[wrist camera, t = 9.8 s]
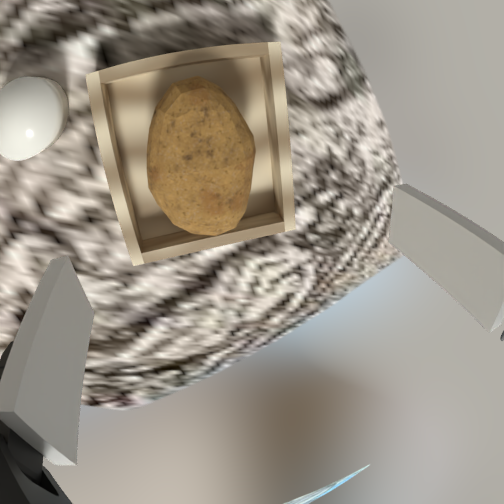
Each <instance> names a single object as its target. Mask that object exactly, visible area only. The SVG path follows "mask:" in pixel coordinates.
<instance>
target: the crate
mask: <svg viewBox="0 0 504 504" xmlns="http://www.w3.org/2000/svg"><path fill="white" fill-rule="evenodd" d="M195 76H200V77H202V78H204V79H206V80H208V81H210V82H212V83H214V84H216V85H218V86H219V87H220V88H221V89H222V90H223V91H224V92H225V93H226V94H227V95H228V96H229V97H230V98H231V99H232V101H233V102H234V103H235V104H236V106H237V108H238V109H239V111H240V113H241V114H242V116H243V118H244V120H245V121H246V123H247V125H248V127H249V128H250V130H251V132H252V134H253V136H254V142H255V147H256V154H255V161H254V167H253V176H252V185H251V191H250V195H249V199H248V203H247V208H246V211H245V213H244V215H243V216H242V218H241V219H240V221H239V223H238V224H237V226H236V227H235V228H234V229H231V230H229V231H226V232H224V233H222V234H219V235H217V236H213V235H201V234H193V233H190V232H188V231H186V230H184V229H182V228H180V227H178V226H176V225H174V224H173V223H172V222H171V220H170V219H169V218H168V216H167V215H166V214H165V213H164V212H163V211H162V209H161V208H160V207H159V206H158V205H157V203H156V201H155V199H154V197H153V195H152V194H151V192H150V190H149V188H148V179H147V143H148V134H149V127H150V124H151V120H152V117H153V114H154V110H155V107H156V106H157V104H158V103H159V101H160V100H161V98H162V97H163V96H164V94H165V93H166V91H167V90H168V89H169V87H170V86H171V84H172V83H174V82H178V81H181V80H184V79H188V78H191V77H195ZM86 81H87V87H88V93H89V99H90V105H91V110H92V115H93V121H94V126H95V130H96V135H97V140H98V144H99V149H100V153H101V157H102V161H103V165H104V169H105V173H106V177H107V181H108V185H109V189H110V192H111V196H112V200H113V203H114V207H115V210H116V213H117V217H118V220H119V223H120V227H121V230H122V233H123V236H124V239H125V243H126V246H127V249H128V252H129V255H130V258H131V261H132V263H133V266H136V265H140V264H145V263H149V262H153V261H157V260H162V259H166V258H170V257H175V256H179V255H183V254H188V253H192V252H197V251H201V250H205V249H210V248H214V247H219V246H223V245H227V244H232V243H236V242H241V241H245V240H250V239H254V238H259V237H263V236H268V235H272V234H277V233H281V232H286V231H291V230H295V209H294V192H293V176H292V161H291V147H290V135H289V123H288V111H287V100H286V90H285V80H284V70H283V61H282V52H281V43H280V42H261V43H245V44H233V45H223V46H214V47H206V48H199V49H192V50H186V51H180V52H174V53H168V54H163V55H158V56H154V57H149V58H144V59H140V60H136V61H132V62H128V63H124V64H120V65H116V66H113V67H109V68H106V69H102V70H99V71H96V72H93V73H90V74H86Z"/></svg>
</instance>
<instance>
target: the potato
mask: <svg viewBox="0 0 504 504" xmlns="http://www.w3.org/2000/svg"><path fill="white" fill-rule="evenodd" d="M255 154H256V147H255V142H254V136H253V134H252V132H251V130H250V128H249V127H248V125H247V123H246V121H245V120H244V118H243V116H242V114H241V113H240V111H239V109H238V108H237V106H236V104H235V103H234V102H233V101H232V99H231V98H230V97H229V96H228V95H227V94H226V93H225V92H224V91H223V90H222V89H221V88H220V87H219V86H218V85H216V84H214V83H212V82H210V81H208V80H206V79H204V78H202V77H200V76H195V77H191V78H188V79H184V80H181V81H178V82H174V83H172V84H171V86H170V87H169V89H168V90H167V91H166V93H165V94H164V96H163V97H162V98H161V100H160V101H159V103H158V104H157V106H156V107H155V110H154V114H153V117H152V120H151V124H150V127H149V134H148V143H147V179H148V188H149V190H150V192H151V194H152V195H153V197H154V199H155V201H156V203H157V205H158V206H159V207H160V208H161V209H162V211H163V212H164V213H165V214H166V215H167V216H168V218H169V219H170V220H171V222H172V223H173V224H174V225H176V226H178V227H180V228H182V229H184V230H186V231H188V232H190V233H193V234H201V235H213V236H217V235H219V234H222V233H224V232H226V231H229V230H231V229H234V228H235V227H236V226H237V224H238V223H239V221H240V219H241V218H242V216H243V215H244V213H245V211H246V208H247V203H248V199H249V195H250V191H251V185H252V176H253V167H254V161H255Z"/></svg>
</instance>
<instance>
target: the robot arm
mask: <svg viewBox="0 0 504 504" xmlns="http://www.w3.org/2000/svg"><path fill="white" fill-rule="evenodd" d="M388 242H389V243H390V244H391V245H392V246H393V247H395V248H396V249H397V250H398V251H400V252H401V253H402V254H403V255H404V256H406V257H407V258H408V259H409V260H410V261H411V262H413V263H414V264H415V265H416V266H417V267H419V268H420V269H421V270H422V271H423V272H424V273H426V274H427V275H428V276H429V277H430V278H431V279H432V280H433V281H435V282H436V283H437V284H438V285H439V286H440V287H441V288H442V289H443V290H445V291H446V292H447V293H448V294H449V295H450V296H451V297H452V298H453V299H454V300H455V301H456V302H458V303H459V304H460V305H461V306H462V307H463V308H464V309H465V310H466V311H467V312H468V313H469V314H470V315H471V316H472V317H473V318H474V319H475V320H476V321H477V322H478V323H479V324H480V325H482V327H484V328H485V329H486V331H487V332H489V333H490V332H491V331H493V330H494V329H495V328H497V327H498V326H500V325H501V323H502V321H503V319H504V242H503V241H502V240H500V239H498V238H497V237H496V236H494V235H493V234H491V233H489V232H488V231H487V230H485V229H484V228H482V227H480V226H479V225H477V224H476V223H474V222H473V221H471V220H469V219H468V218H466V217H464V216H463V215H461V214H459V213H458V212H456V211H455V210H453V209H451V208H449V207H448V206H446V205H444V204H442V203H441V202H439V201H437V200H435V199H434V198H432V197H430V196H428V195H426V194H425V193H423V192H421V191H419V190H417V189H415V188H414V187H411V186H410V185H408V184H402V185H396V186H394V188H393V201H392V213H391V223H390V232H389V240H388ZM94 314H95V313H94V311H93V309H92V307H91V305H90V303H89V301H88V299H87V297H86V294H85V292H84V290H83V288H82V286H81V284H80V282H79V279H78V277H77V275H76V273H75V270H74V268H73V266H72V263H71V261H70V259H69V256H68V255H67V256H64V257H60V258H56V259H53V260H51V262H50V263H49V265H48V267H47V269H46V271H45V273H44V275H43V277H42V279H41V281H40V283H39V285H38V287H37V289H36V291H35V294H34V296H33V298H32V300H31V302H30V304H29V307H28V309H27V311H26V314H25V316H24V318H23V321H22V323H21V325H20V328H19V330H18V333H17V335H16V338H15V340H14V341H12V342H11V343H10V344H9V345H8V347H7V348H6V350H5V351H4V352H3V354H2V356H1V359H0V504H72V503H71V501H70V500H69V499H68V497H67V496H66V495H65V493H64V492H63V491H62V489H61V488H60V487H59V485H58V484H57V482H56V481H55V480H54V478H53V477H52V475H51V474H50V472H49V471H48V470H47V469H46V468H45V467H44V466H43V465H42V463H43V456H44V457H45V458H46V459H48V460H49V461H51V462H52V463H53V464H55V465H77V444H78V427H79V415H80V404H81V395H82V386H83V379H84V371H85V364H86V358H87V352H88V346H89V340H90V334H91V329H92V324H93V319H94ZM503 340H504V331H503V333H502V335H501V341H503Z"/></svg>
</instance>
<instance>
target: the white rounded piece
mask: <svg viewBox="0 0 504 504" xmlns="http://www.w3.org/2000/svg"><path fill="white" fill-rule="evenodd" d="M68 114H69V105H68V99H67V96H66V94H65V92H64V90H63V89H62V87H61V86H60V85H59V84H58V83H57V82H55V81H54V80H51V79H48V78H42V77H20V78H17V79H14V80H12V81H11V82H9V83H7V84H6V85H5V86H4V87H3V88H2V89H1V90H0V154H1V155H2V156H3V157H5V158H7V159H10V160H25V159H28V158H30V157H32V156H34V155H36V154H38V153H39V152H41V151H43V150H45V149H47V148H48V147H50V146H51V145H53V144H54V143H55V142H56V141H57V140H58V139H59V137H60V136H61V134H62V133H63V131H64V129H65V127H66V124H67V120H68Z"/></svg>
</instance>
